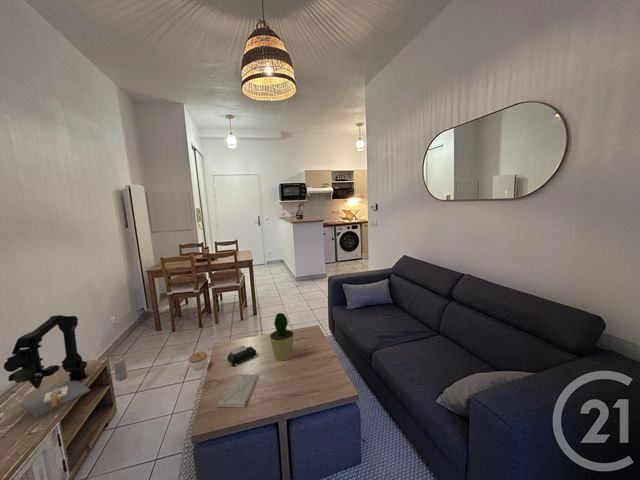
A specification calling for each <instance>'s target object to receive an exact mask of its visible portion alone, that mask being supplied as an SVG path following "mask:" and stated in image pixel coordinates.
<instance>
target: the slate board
mask: <svg viewBox="0 0 640 480" xmlns="http://www.w3.org/2000/svg"><path fill="white" fill-rule="evenodd" d="M66 386H68V394H67V396H65V397H63V398H60V397H58V398H57V401H58V404H57V406H54V407H52V406H51V402H49V403H46V404H44V398H45V394H46V393H49V392H52V395H53V394H56V393H57V395H59V394H61V393H60V390H59V389H61V388H64V387H66ZM90 392H91V389H90V388H88V387H87V386H86V385H84V384H82V383H81V382H80V381H76V380H73V381H70V380H68V381H66V382H64V383H62V384H60V385H57V386H56V387H53V388H52V389H49V390H47V391H44V392H42V393H40V394H38V395H35V396H33V397H31V398H29V399H27V400H25V401H23V402H20V403H21V405H22V407H24V409H26V410H27V412H28V413H29V414H30V415H31V416H32V417H33V418H34V419H35V420H36V419H38V418H40V417H43V416H45V415H47V414H48V412H49V413H50V412H53V411H54V410H57V409H58V408H60V407H62V406H64V405H67V404H68V403H70V402H72V401H75V399H78V398H80V397H82V396H83V395H86V394H88V393H90ZM46 413H47V414H46Z"/></svg>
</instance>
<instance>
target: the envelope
mask: <svg viewBox="0 0 640 480" xmlns="http://www.w3.org/2000/svg"><path fill="white" fill-rule="evenodd" d="M237 376H239V377H240V376H241V377H242V378H240V379H241V381H240V379H239V381H240V383H241V385H240V383H239V381H238V378H237ZM257 376H258V377H259V375H258V374H234V375H233V377H232V379H231V380H230V383H232V381H233V380H235V383H236V387H235V388H234V391H233V392H232V393H231V394H229V395H228V396H227V397H225V398H224V399H223V400H221V401H220V400H218V403H217V404H218V405H245V403H246V401H247V398H248V396H249V394H250V392H251V389H252V387H253V385H254V383H255V384H256V382H255V380H256V378H257ZM235 377H236V378H235ZM257 379H258V378H257ZM242 380H243V381H242ZM256 381H257V380H256ZM230 383H229V384H228V386H230ZM254 386H255V385H254ZM253 388H254V387H253ZM252 390H253V389H252ZM225 393H226V390H225V391H224V393H223V394H225ZM251 393H252V392H251ZM233 394H234V395H235V396H234V395H233ZM250 395H251V394H250ZM231 396H233V398H231V399H232V400H231V399H230V400H228V401H226V403H222V402H224V401H225V400H226V399H228V398H229V397H231ZM249 397H250V396H249ZM248 399H249V398H248ZM247 402H248V401H247ZM246 404H247V403H246ZM245 406H246V405H245Z"/></svg>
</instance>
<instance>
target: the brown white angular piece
mask: <svg viewBox="0 0 640 480" xmlns="http://www.w3.org/2000/svg"><path fill="white" fill-rule="evenodd" d="M59 390H60V393H61V394H59V395H57V393H56V394H53V395H52V392H49V393H46V394H45V398H44V404H46V403H49V402H51V406H52V407H54V406H57V404H58V401H57V398H58V397H60V398H63V397H65V396H67V394H68V386H66V387H64V388H61V389H59Z"/></svg>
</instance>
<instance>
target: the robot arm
mask: <svg viewBox="0 0 640 480" xmlns="http://www.w3.org/2000/svg"><path fill="white" fill-rule="evenodd" d="M48 318H49V319H47V320H46V321H45V322H43V323H42V324H41V325H40V326H38V327H36V328H35V329H34V330H33V331H30V332H28V333H26V334H24V335H22V336H20V337H19V338H18V339H17V340H16V342H15V345H14V347H13V349H12V352H11V355H12V356H9V357H8V358H6V360H7V361H5V362H4V364H3V369H4V370H5V371H6V372H9V373H11V374H10V375H9V376H8V382H15V383H16V384H19V383H26V382H28V383H30V384H31V385H32V386H33V387H34V389H39V388H40V386H41V384H42V381H43V379H44V377H51V376H52V375H54V374H55V373H56V372H57V373H58V371H60V366H59V365H58V364H56V365H54V364H53V365H49V366H48V367H46V368H45V365H44V364H43V365H42V361H43V360H44V359H43V357H40V352H39V349H40V348H41V347H42V344H40V343H41V342H42V341H43V337H44V336H45V335H47V334H48V333H49V332H50V331H51V330H53V329H54V327H56V326H58V329H59V331H61V333H62V334H63V340H64V341H63V342H64V348H65V351H64V352H65V358H64V359H63V360H62V361H61V363H62V365H61V368H62V369H63V370H64V371H65V372H66V373H68V381H73V380H76V381H78V382H80V381H81V380H83V379H86V378H87V377H88V375H86V370H85V369H86V368H87V366H88V362H87V361H84V360H83V357H82V355H80V354H79V353H78V347H77V340H76V337H77V336H76V331H75V330H76V328H77V326H78V322H79V321H78V317H77V316H76V315H70V316H67V315H61V314H59V315H52V316H50V317H48ZM20 368H21V369H20ZM12 372H13V373H12Z"/></svg>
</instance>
